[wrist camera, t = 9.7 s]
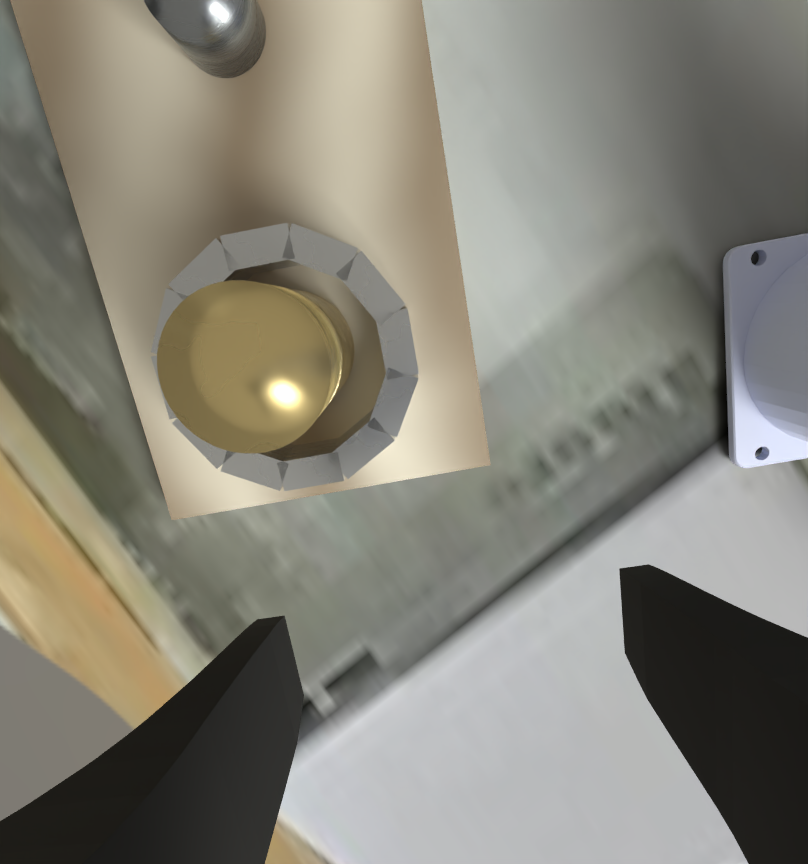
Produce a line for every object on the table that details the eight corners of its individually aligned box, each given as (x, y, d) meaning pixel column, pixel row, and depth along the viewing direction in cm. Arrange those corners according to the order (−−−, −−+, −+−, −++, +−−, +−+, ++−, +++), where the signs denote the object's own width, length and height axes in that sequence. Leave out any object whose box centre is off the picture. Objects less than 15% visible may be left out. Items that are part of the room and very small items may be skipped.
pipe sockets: (344, -50, 15) (332, -119, 13) (431, 448, 19) (436, 469, 16) (80, 7, 15) (19, -49, 13) (217, 486, 19) (189, 512, 17)
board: (389, -191, 15) (387, -226, 14) (486, 457, 20) (490, 465, 19) (-3, -102, 16) (-30, -129, 15) (183, 510, 20) (171, 520, 19)
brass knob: (349, 286, 17) (321, 273, 11) (359, 403, 18) (338, 448, 12) (230, 294, 17) (142, 286, 11) (246, 411, 18) (172, 458, 12)
